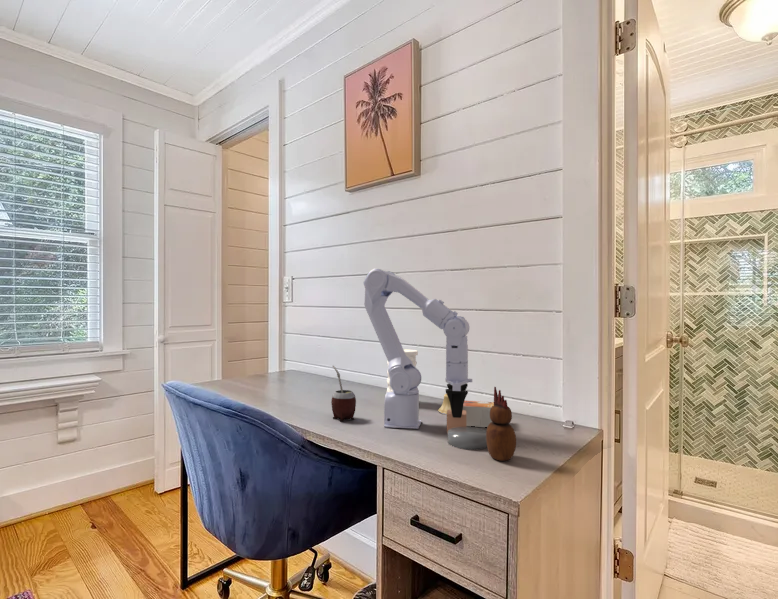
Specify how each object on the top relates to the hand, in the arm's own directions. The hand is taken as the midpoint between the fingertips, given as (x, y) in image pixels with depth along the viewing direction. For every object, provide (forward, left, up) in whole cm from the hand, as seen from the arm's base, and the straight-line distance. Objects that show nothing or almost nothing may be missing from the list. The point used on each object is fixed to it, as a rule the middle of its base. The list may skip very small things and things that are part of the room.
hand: (457, 413), depth 113 cm
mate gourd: (-33, +6, -5) cm, 34 cm away
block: (0, 0, -5) cm, 5 cm away
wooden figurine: (+9, -19, -5) cm, 22 cm away
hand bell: (-2, +21, -5) cm, 22 cm away
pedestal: (+3, -10, -4) cm, 11 cm away
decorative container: (-19, +30, -5) cm, 36 cm away
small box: (+12, +8, -2) cm, 14 cm away
